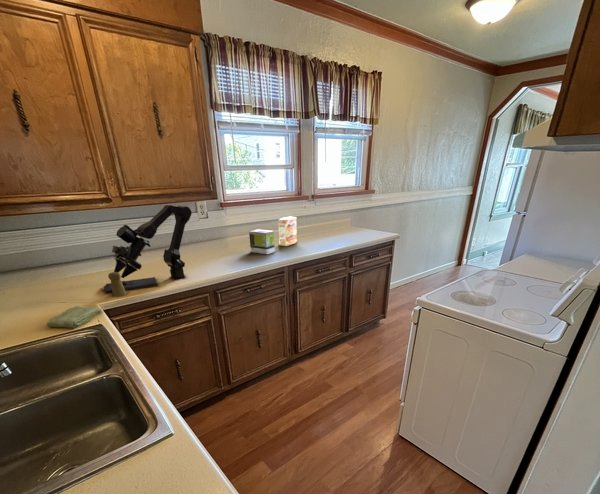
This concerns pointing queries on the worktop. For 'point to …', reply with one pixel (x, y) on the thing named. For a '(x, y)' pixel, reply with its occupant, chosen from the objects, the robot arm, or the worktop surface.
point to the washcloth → (73, 317)
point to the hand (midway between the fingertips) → (118, 275)
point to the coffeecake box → (287, 231)
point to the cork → (116, 284)
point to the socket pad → (133, 284)
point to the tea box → (262, 241)
